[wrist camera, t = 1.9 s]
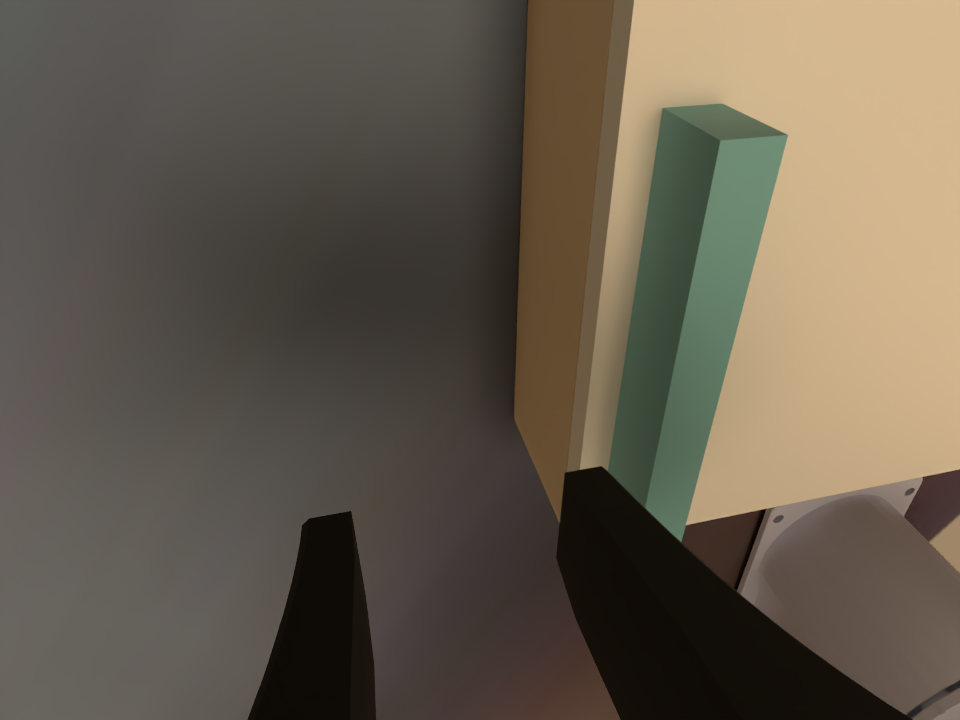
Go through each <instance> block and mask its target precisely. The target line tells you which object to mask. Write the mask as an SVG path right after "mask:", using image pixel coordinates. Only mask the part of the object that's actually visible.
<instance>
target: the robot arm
mask: <svg viewBox="0 0 960 720" xmlns="http://www.w3.org/2000/svg"><path fill="white" fill-rule="evenodd" d="M922 480H923V478H922V477H919V478H914V479H910V480H905V481H900V482H895V483H890V484H885V485H880V486H875V487H870V488H865V489H860V490H856V491H851V492H846V493H841V494H836V495H831V496H826V497H821V498H816V499H811V500H806V501H802V502H797V503H792V504H787V505H782V506H777V507H772V508H767V509H766V512H765V515H764V517H763V520H762V523H761V526H760V528H759V531H758V534H757V537H756V540H755V542H754V545H753V548H752V551H751V553H750V556H749V559H748V562H747V565H746V567H745V570H744V573H743V576H742V578H741V581H740V584H739V587H738V589H737V591H736V590H735V589H734V588H732V587H731V586H730V585H729V584H728V583H727V582H725V581H724V580H723V579H722V578H721V577H720V576H718V575H717V574H716V573H715V572H714V571H713V570H712V569H711V568H709V567H708V566H707V565H706V564H705V563H704V562H703V561H702V560H700V559H699V558H698V557H697V556H696V555H695V554H694V553H693V552H692V551H690V550H689V549H688V548H687V547H686V546H685V545H684V544H683V543H682V542H680V541H679V540H678V539H677V538H676V537H675V536H674V535H673V534H672V533H671V532H670V531H669V530H668V529H667V528H666V527H664V526H663V525H662V524H661V523H660V522H659V521H658V520H657V519H656V518H655V517H654V516H653V515H652V514H651V513H650V512H649V511H648V510H647V509H646V508H645V507H644V506H643V505H642V504H641V503H640V502H639V501H637V500H636V499H635V498H634V497H633V496H632V495H631V494H630V493H629V492H628V491H627V490H626V489H625V488H624V487H623V486H622V485H621V484H620V483H619V482H618V481H617V480H616V479H615V478H614V477H613V476H612V475H611V474H610V473H609V472H608V471H607V470H606V469H605V468H603V467H602V466H599V467H593V468H588V469H582V470H577V471H571V472H565V475H564V485H563V495H562V505H561V516H560V526H559V536H558V546H557V556H556V558H557V561H558V564H559V568H560V571H561V574H562V577H563V581H564V584H565V587H566V590H567V593H568V596H569V599H570V602H571V605H572V608H573V612H574V615H575V618H576V620H577V622H578V625H579V627H580V629H581V632H582V634H583V636H584V638H585V641H586V643H587V645H588V647H589V650H590V652H591V654H592V657H593V659H594V661H595V663H596V666H597V668H598V670H599V672H600V674H601V677H602V679H603V681H604V683H605V686H606V688H607V690H608V692H609V694H610V697H611V699H612V701H613V703H614V705H615V708H616V710H617V712H618V714H619V717H620V719H621V720H960V573H959V572H958V571H957V570H956V569H955V568H954V567H953V566H952V565H951V564H950V563H949V562H948V561H947V560H946V559H945V558H944V557H943V556H942V555H941V554H940V553H939V552H938V551H937V550H936V549H935V548H934V547H933V546H932V545H931V544H930V543H929V542H928V541H927V540H926V539H925V538H924V537H923V536H922V535H921V534H920V533H919V532H918V531H917V530H916V529H915V528H914V527H913V526H912V525H911V524H910V523H909V522H908V521H907V520H906V519H905V518H904V515H905V513H906V511H907V509H908V507H909V505H910V504H911V502H912V500H913V498H914V496H915V494H916V492H917V491H918V489H919V487H920V485H921V483H922ZM248 720H376V706H375V676H374V659H373V651H372V643H371V635H370V627H369V619H368V611H367V603H366V595H365V589H364V583H363V578H362V572H361V566H360V560H359V554H358V548H357V542H356V537H355V531H354V525H353V519H352V513H351V511H349V512H344V513H338V514H332V515H327V516H321V517H316V518H310V519H308V520H307V521H306V522H305V523H304V524H303V525H302V531H301V540H300V546H299V551H298V557H297V562H296V566H295V571H294V575H293V579H292V584H291V587H290V591H289V595H288V599H287V603H286V606H285V610H284V614H283V617H282V620H281V623H280V626H279V630H278V633H277V636H276V639H275V643H274V646H273V649H272V652H271V655H270V659H269V662H268V665H267V668H266V671H265V674H264V677H263V679H262V682H261V685H260V688H259V690H258V693H257V696H256V698H255V701H254V704H253V706H252V709H251V712H250V715H249V717H248Z"/></svg>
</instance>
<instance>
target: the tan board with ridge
mask: <svg viewBox="0 0 960 720" xmlns="http://www.w3.org/2000/svg"><path fill="white" fill-rule="evenodd" d="M599 466H602V467H603V468H605V469H606V470H607V471H608V472H609V473H610V474H611V475H612V476H613V477H614V478H615V479H616V480H617V481H618V482H619V483H620V484H621V485H622V486H623V487H624V488H625V489H626V490H627V491H628V492H629V493H630V494H631V495H632V496H633V497H634V498H635V499H636V500H637V501H639V502H640V503H641V504H642V505H643V506H644V507H645V508H646V509H647V510H648V511H649V512H650V513H651V514H652V515H653V516H654V517H655V518H656V519H657V520H658V521H659V522H660V523H661V524H662V525H663V526H664V527H666V528H667V529H668V530H669V531H670V532H671V533H672V534H673V535H674V536H675V537H676V538H677V539H678V540H679V541H680V542H681V541H682V538H683V534H684V530H685V526H686V525H689V524H693V523H698V522H703V521H708V520H713V519H718V518H723V517H728V516H733V515H738V514H743V513H748V512H752V511H757V510H762V509H767V508H772V507H777V506H782V505H787V504H792V503H797V502H802V501H806V500H811V499H816V498H821V497H826V496H831V495H836V494H841V493H846V492H851V491H856V490H860V489H865V488H870V487H875V486H880V485H885V484H890V483H895V482H900V481H905V480H910V479H914V478H919V477H924V476H929V475H934V474H939V473H944V472H949V471H954V470H959V469H960V0H614V7H613V17H612V27H611V37H610V47H609V57H608V67H607V76H606V86H605V96H604V106H603V116H602V126H601V136H600V146H599V156H598V166H597V176H596V186H595V196H594V206H593V216H592V226H591V236H590V246H589V256H588V266H587V276H586V286H585V295H584V305H583V315H582V325H581V335H580V345H579V355H578V365H577V375H576V385H575V395H574V405H573V415H572V425H571V435H570V445H569V455H568V465H567V472H571V471H577V470H582V469H588V468H593V467H599Z"/></svg>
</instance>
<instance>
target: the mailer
mask: <svg viewBox="0 0 960 720" xmlns="http://www.w3.org/2000/svg"><path fill="white" fill-rule="evenodd" d="M613 7H614V0H528V13H527V43H526V72H525V102H524V132H523V161H522V191H521V221H520V250H519V280H518V310H517V339H516V369H515V399H514V420H515V422H516V425H517V427H518V429H519V431H520V434H521V436H522V438H523V441H524V443H525V445H526V447H527V450H528V452H529V454H530V457H531V459H532V461H533V463H534V466H535V468H536V470H537V473H538V475H539V477H540V480H541V482H542V484H543V486H544V489H545V491H546V493H547V496H548V498H549V500H550V502H551V505H552V507H553V509H554V512H555V514H556V516H557V518H558V521H559V523H560V516H561V505H562V495H563V485H564V475H565V472H567V465H568V455H569V445H570V435H571V425H572V415H573V405H574V395H575V385H576V375H577V365H578V355H579V345H580V335H581V325H582V315H583V305H584V295H585V286H586V276H587V266H588V256H589V246H590V236H591V226H592V216H593V206H594V196H595V186H596V176H597V166H598V156H599V146H600V136H601V126H602V116H603V106H604V96H605V86H606V76H607V67H608V57H609V47H610V37H611V27H612V17H613Z"/></svg>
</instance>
